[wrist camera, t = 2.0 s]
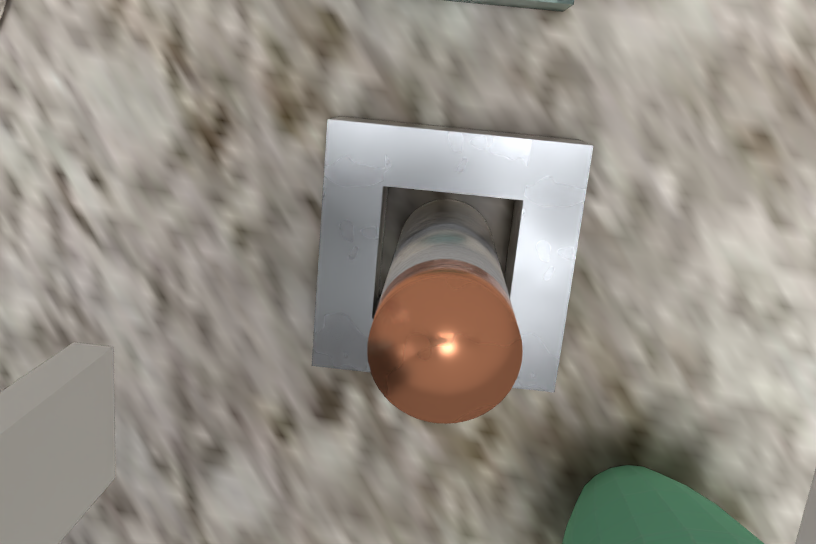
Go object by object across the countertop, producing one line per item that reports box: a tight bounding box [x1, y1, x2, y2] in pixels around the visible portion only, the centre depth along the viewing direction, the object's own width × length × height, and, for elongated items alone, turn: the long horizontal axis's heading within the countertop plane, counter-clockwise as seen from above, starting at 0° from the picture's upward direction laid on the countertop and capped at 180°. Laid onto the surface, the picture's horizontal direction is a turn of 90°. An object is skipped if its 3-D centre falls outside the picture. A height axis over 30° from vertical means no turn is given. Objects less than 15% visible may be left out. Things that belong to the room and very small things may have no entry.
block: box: [312, 116, 593, 392], centre depth 30 cm, size 10×10×3 cm
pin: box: [367, 199, 523, 424], centre depth 25 cm, size 4×4×13 cm
